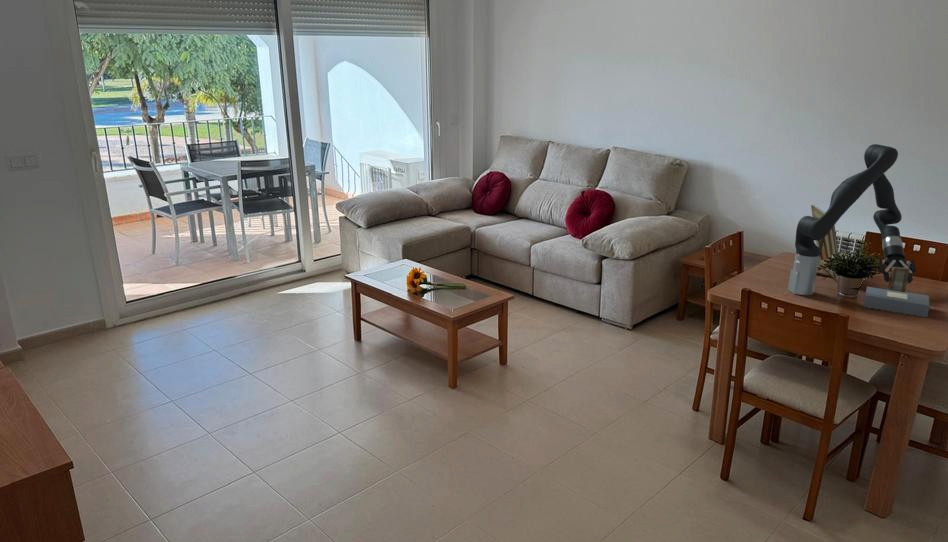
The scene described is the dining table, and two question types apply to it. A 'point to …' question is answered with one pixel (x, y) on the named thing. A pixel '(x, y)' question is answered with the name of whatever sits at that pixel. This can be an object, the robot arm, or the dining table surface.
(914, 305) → the display step
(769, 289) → the dining table surface
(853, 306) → the dining table surface
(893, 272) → the walnut frame
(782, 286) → the dining table surface
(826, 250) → the picture frame
